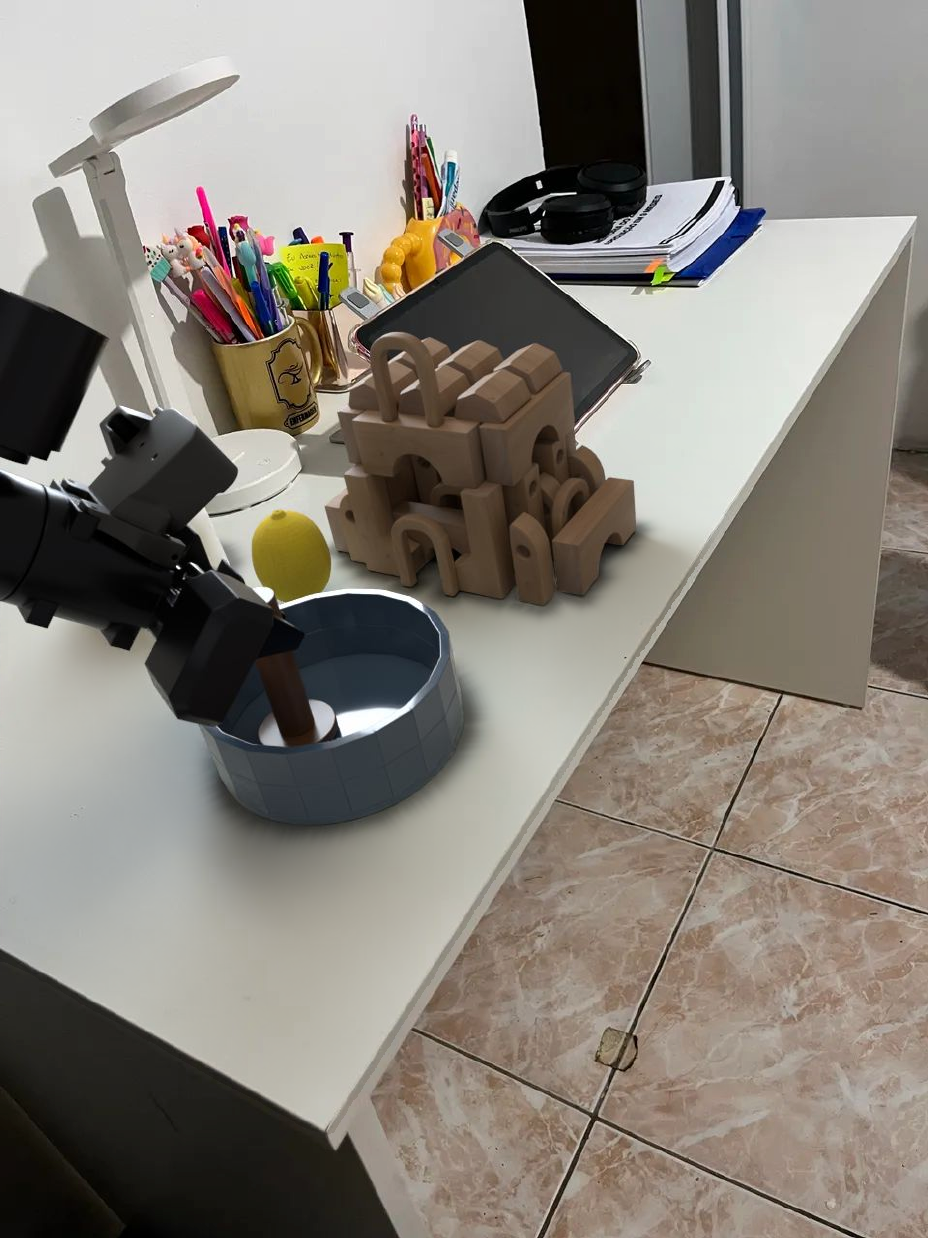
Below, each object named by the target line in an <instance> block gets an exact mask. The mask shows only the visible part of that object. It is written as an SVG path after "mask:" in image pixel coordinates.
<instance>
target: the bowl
mask: <svg viewBox="0 0 928 1238" xmlns="http://www.w3.org/2000/svg"><path fill="white" fill-rule="evenodd" d="M278 605H279V608H280V611H282V612H283V613H284V614H285V616H286V618H285V621H287V622H289V623H290V624H292V625H294V626H295V627H297V628H299V629H300V630H302V631H303V632H304V634H305V636H304V638H303V640H302V642H301V644H300V646H299V648H298V649H297V650H294V651H293V653H294V656H295V659H296V662H297V665H298V669H299V672H300V675H301V678H302V681H303V685H304V688H305V691H306V694H307V697H308V699H314V700H319V701H323V702H325V703H327V704H328V705H330V706H331V707H332V708H333V710H334V711H335V714H336V717H337V721H338V729H337V732H336V735H335V737H334V738H333V740H332V741H329V742H322V743H315V744H308V745H300V746H293V747H281V746H270V745H261V744H260V742H259V739H258V730H259V727H260V724H261V723H262V721H263V720H264V719H265V717H266V716H267V715H268V714H270V713H271V712H272V709H271V706H270V703H269V700H268V697H267V694H266V691H265V689H264V686H263V683H262V680H261V677H260V674H259V671H258V668H257V665H256V663H255V662H254V664H253V666H252V668H251V670H250V671H249V673H248V675H247V677H246V679H245V681H244V683H243V685H242V687H241V689H240V691H239V693H238V695H237V697H236V699H235V701H234V702H233V704H232V706H231V708H230V710H229V712H228V714H227V716H226V718H225V720H224V722H223V723H222V724H219V725H217V726H215V727H209V726H205V725H200V724H197V725H198V727H199V730H200V732H201V735H202V737H203V739H204V741H205V744H206V746H207V749H208V751H209V753H210V755H211V757H212V761H213V763H214V765H215V767H216V770H217V772H218V775H219V778H220V780H221V781H222V782H223V783H224V786H225V787H226V789H227V790H228V792H229V793H230V795H231V796H232V798H234V799H235V801H236V802H237V803H239V804H240V805H242V807H244V808H245V809H247V810H248V811H250V812H252V813H254V814H256V815H257V816H260V817H261V818H265V819H268V820H270V821H274V822H278V823H283V824H289V825H297V826H298V825H300V826H321V825H332V824H338V823H343V822H347V821H353V820H356V819H357V820H358V819H360V818H363V817H366V816H370V815H372V814H375V813H378V812H380V811H383V810H385V809H387V808H389V807H391V806H393V805H395V804H398V803H400V802H401V801H403V800H405V799H406V798H408V797H409V796H411V795H413V794H414V793H415V792H418V790H420V789H421V788H422V787H423V786H424V785H426V784H427V783H428V782H430V781H431V780H432V779H433V778H434V777H435V776H436V775H437V774H438V773H439V772H440V771H441V770H442V769H443V768H444V767H445V765H446V764H447V762H448V761H449V760H450V758H451V757H452V755H453V753H454V751H455V750H456V748H457V746H458V744H459V741H460V738H461V736H462V731H463V728H464V706H463V699H462V698H463V697H462V691H461V685H460V679H459V675H458V669H457V665H456V661H455V655H454V651H453V645H452V640H451V636H450V635H451V634H450V631H449V630H448V628H447V627H446V625H445V624H444V622H443V620H442V619H441V618H440V616H439V613H438V612H436V610H434V609H432V608H430V607H429V606H428V605H426V604H424V603H423V602H421V601H419V600H418V599H416V598H415V597H413V596H409V595H405V594H402V593H398V592H395V591H394V592H393V591H391V590H386V589H377V588H344V589H343V588H342V589H337V590H330V591H326V592H325V591H324V592H323V591H322V592H321V593H317V594H312V595H309V596H306V597H303V598H300V599H296V600H293V601H290V602H287V603H286V602H283V603H282V604H281V603H280V604H278Z"/></svg>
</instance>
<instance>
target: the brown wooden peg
mask: <svg viewBox="0 0 928 1238" xmlns="http://www.w3.org/2000/svg"><path fill="white" fill-rule="evenodd" d="M251 588H252V587H251ZM252 589H253V590H254V591H255V592H256V593H257V594H258V595H259V596H260V597H261V598H262V599H263V600H264V601H265V602H266V603H267V604H268V605H269V606H270V607H271V608H272V609H274V614H275V615H277V616H278V617H280V618H282V615H281V612H280V608H279V605H280V604H279V602H278V599H276V596H275V593H274V591H273V590H272V589H270V588H267V587H263V586H258V587H253V588H252ZM282 619H283V618H282ZM255 663H256V665H257V668H258V671H259V674H260V677H261V680H262V683H263V686H264V689H265V691H266V694H267V697H268V700H269V703H270V706H271V709H272V712H271V713H270V714H268V715H267V716H266V717H265V719H264V720H263V721H262V723H261V724H260V727H259V730H258V739H259V742H260V744H261V745H270V746H281V747H293V746H300V745H308V744H315V743H322V742H329V741H332V740H333V738H334V737H335V735H336V732H337V729H338V721H337V717H336V714H335V711H334V710H333V708H332V707H331V706H330V705H328V704H327V703H325V702H323V701H319V700H314V699H308V697H307V694H306V691H305V688H304V685H303V681H302V678H301V675H300V672H299V669H298V665H297V662H296V659H295V656H294V653H293V651H289V652H285V653H281V654H276V655H272V656H267V657H263V658H259V659H256V660H255Z"/></svg>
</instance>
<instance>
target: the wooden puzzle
mask: <svg viewBox="0 0 928 1238" xmlns="http://www.w3.org/2000/svg"><path fill="white" fill-rule="evenodd" d="M389 350H394V351H396V350H397V351H402V352H400V353H399V354H397V355H395V356H394V357H393V358H391V359H390V360H389V361H388V352H389ZM369 362H370V370H371V373H369V374H368V375H366V376H365V377H363V378H361V380H359V381H358V382H356V383H354V384H353V385H352V386H350V388H349V394H348V396H349V397H348V403H347V404H345V405H344V406H343V407H341V408H340V409H339V410H337V412H336V414H337V418H338V421H339V425H340V426H339V427H340V429H341V434H342V438H343V442H344V447H345V451H346V454H347V458H348V462H349V463H350V464H354V465H353V466H352V467H351V468H350V469H348V470H347V471H345V473H343V478H344V482H345V483H344V484H345V486H346V488H344V489H343V490H342V491H340V493H338V494H336V496H334V497H333V498H332V499H331V500H329V501H328V502H327V503H326V504H324V507H323V508H324V511H325V514H326V518H327V521H328V525H329V529H330V533H331V537H332V540H333V543H334V544H333V545H334V547H335V551H339V552H344V553H349V556H350V560H351V561H354V562H358V563H363V564H365V566H366V569H367V570H368V571H371V572H375V573H376V572H377V573H381V574H386V575H391V576H396V577H400V582H401V586H404V587H408V588H412V587H413V586H414V585H415V584H416V583H417V582H418V580H417V574H418V572H420V570H422V569H423V568H424V567H425V566H426V565H427V564H428V563H429V562H430V561H431V560H432V559H433V558H434V557H435V556H436V562H437V566H438V571H439V577H440V581H441V585H442V592H443V594H444V595H446V596H450V597H454V596H456V595H457V594H458V593H459V592H460V591H461V592H467V593H471V594H472V593H473V594H477V595H480V596H485V597H490V598H495V599H498V600H499V599H500V600H503V599H504V598H505V597H506V595H507V594H509V593H510V591H511V590H512V589H513V588H514V587H515V586H516V591H517V599H518V601H521V602H525V603H529V604H535V605H538V606H539V605H541V606H546V605H547V604H548V602H549V601H550V600H551V599H552V597H553V596H554V595H555V594H556V591H558V592H559V591H560V592H563V593H568V594H573V595H579V596H584V595H585V594H586V593H587V592H588V591H589V590H590V588H591V586H592V585H593V584H594V582H595V581H596V580H597V579H598V578H599V576H600V561H601V555H602V552H603V550H604V546H605V544H612V545H616V546H617V545H618V546H624V545H625V543H627V541H628V540H629V538H630V537H631V536H632V535H633V533H634V532H635V531H636V530H637V515H636V514H637V513H636V498H635V497H636V496H635V495H636V494H635V481H634V480H633V479H626V478H619V477H606V473H605V468H604V465H603V464H602V462H601V460H600V458H599V457H598V455H597V454H596V453H595V452H594V451H593V450H591V449H590V448H589V447H587V446H585V445H583V444H581V445H580V446H579V447H578V448H577V442H576V431H575V429H576V428H575V427H576V418H575V410H574V398H573V397H574V396H573V385H572V377H571V372H567V371H563V370H564V369H563V367H562V364H561V362H560V360H559V358H558V356H557V354H556V351H553V350H551V349H549V348H547V347H545V346H543V345H541V344H539V343H536V342H533V343H532V344H530V345H527V346H525V347H522V348H520V349H518V350H516V351H514V352H513V353H512V354H511V355H510V356H509V357H507V358H506V359H504V358H503V356H502V354H501V352H500V350H499V348H498V347H495V346H493V345H491V344H489V343H487V342H485V341H483V340H481V339H478V340H476V341H473V342H471V343H469V344H467V345H464V346H462V347H461V348H459V349H458V350H457V351H455V352H454V353H452V352H451V350H450V348H449V346H448V345H447V344H445V343H443V342H441V341H439V340H437V339H434V338H433V337H429V336H428V337H426V338H424V339H420V338H418V337H416V336H415V335H413V334H410V333H408V332H403V331H392V332H388V333H384V334H383V335H381V336H380V337H378V338H377V339H376V340H375V341H374V342H373V343H372V345H371V347H370V350H369ZM452 549H453V550H455V551H457V552H458V553H459V555H460V556H459V557H458V558H457V559H456V560H455V559H454V555H453V550H452ZM553 564H554V565H553ZM553 567H554V568H553ZM554 574H555V575H554ZM555 582H556V584H555Z"/></svg>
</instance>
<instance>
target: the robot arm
mask: <svg viewBox="0 0 928 1238" xmlns="http://www.w3.org/2000/svg"><path fill="white" fill-rule="evenodd" d="M110 340H111V338H109V337H108V336H106V335H105V334H103V333H102V332H100V331H98V330H96V329H94V328H92V327H91V326H88V325H87V324H86V323H83V322H81V321H79V320H78V319H75V318H73V317H72V316H69V315H67V314H65V313H64V312H61V311H59V310H58V309H55V308H53V307H51V306H49V305H46V304H44V303H41V302H38V301H36V300H33V299H31V298H28V297H25V296H23V295H20V294H18V293H15V292H12V291H7V290H5V289H4V288H1V287H0V458H1V459H4V460H7V461H9V462H10V461H11V462H13V463H16V464H20V465H25V466H28V465H29V464H30V461H31V458H35V459H38V460H41V461H45V462H48V460H49V458H50V455H51V453H52V452H56V453H60V452H61V451H62V449H63V447H64V445H65V442H66V440H67V438H68V436H69V433H70V432H71V429H72V427H73V425H74V422H75V420H76V417H77V415H78V413H79V412H80V411H79V410H80V408H81V406H82V404H83V401H84V399H85V397H86V395H87V392H88V390H89V388H90V386H91V383H92V381H93V379H94V377H95V374H96V372H97V369H98V367H99V365H100V363H101V360H102V358H103V356H104V354H105V351H106V349H107V347H108V345H109V342H110ZM152 413H153V414H154V415H155V416H154V417H152V416H151V415H150V414H147V413H144V412H141V411H138V410H135V409H132V408H129V407H126V406H123V405H117V406H116V407H115V408H114V409H112V411H111V412H110V413H108V414H107V415H106V416H105V417H104V419H103V420H101V421H100V423H99V425H98V426H99V428H100V431H101V435H102V437H103V440H104V443H105V445H106V449H107V452H108V455H109V454H110V455H111V456H112V459H111V460H110V459H109V458H108V456H105V457H104V458H103V459H101V461H100V463H101V464H102V466H103V467H104V469H103V470H102V471H101V472H100V473H99V475H98V476H97V477H96V478H95V479H94V480H93V481H92V482H91V483H90V484H89V485H87V484H84V483H82V482H78V481H76V480H73V479H70V478H69V477H63V478H62V480H61V481H59V480H57V479H54V478H52V481H51V482H50V484H49V486H48V485H45V484H42V483H39V482H38V481H35V480H31V479H29V478H27V477H23V476H21V475H18V474H15V473H13V472H10V471H7V470H6V469H5V470H4V469H2V468H0V602H2V603H5V604H9V605H12V606H16V608H17V609H18V611H19V613H20V614H21V617H22V618H23V620H24V622H25V623H26V624H29V625H33V626H36V627H40V628H44V629H47V630H48V628H49V626H50V624H51V623H52V621H53V618H59V619H61V620H65V621H68V622H72V623H76V624H80V625H83V626H86V627H90V628H94V629H97V630H99V631H100V632H101V634H102V636H103V637H104V639H105V641H106V642H107V643H108V644H109V646H110V647H114V648H117V649H120V650H124V651H128V652H130V651H131V649H132V648H133V645H134V643H135V641H136V639H137V637H138V635H139V633H140V631H141V629H144V630H146V631H147V632H149V634H151V636H152V637H153V638H154V639H155V641H154V644H153V645H152V647H151V650H150V652H149V653H148V655H147V657H146V660H145V661H144V663H143V665H144V666H145V668H146V671H147V673H148V676H149V678H150V680H151V683H152V685H153V686H154V688H155V690H156V691H157V692H158V694H160V697H161V698H162V699H163V701H164V702H165V703H166V705H167V707H168V708H169V709H170V712H172V714H173V715H174V716H175V718H176V719H177V720H179V721H184V722H188V723H191V724H196V725H198V724H200V725H205V726H209V727H215V726H217V725H219V724H222V723H223V722H224V720H225V718H226V716H227V714H228V712H229V710H230V708H231V706H232V704H233V702H234V701H235V699H236V697H237V695H238V693H239V691H240V689H241V687H242V685H243V683H244V681H245V679H246V677H247V675H248V673H249V671H250V670H251V668H252V666H253V664H254V662H255V660H256V659H259V658H263V657H267V656H272V655H276V654H281V653H285V652H289V651H294V650H297V649H298V648H299V646H300V644H301V642H302V640H303V638H304V636H305V634H304V632H303V631H302V630H300V629H299V628H297V627H295V626H294V625H292V624H290V623H289V622H287V621H285V618H286V616H285V614H284V613H283V612H282V611H280V612H281V615H282V618H283V619H282V618H280V617H278V616H277V615H275V614H274V609H272V608H271V607H270V606H269V605H268V604H267V603H266V602H265V601H264V600H263V599H262V598H261V597H260V596H259V595H258V594H257V593H256V592H255V591H254V590H253V589H252V587H250V586H249V585H247V584H246V582H245V579H244V578H243V576H242V575H241V574H240V573H239V572H237V570H236V569H235V568H234V567H232V565H231V564H230V565H229V564H228V563H227V562H226V561H225V560H224V559H222V560H221V562H220V564H219V566H218V568H215V567H214V566H212V565H211V564H210V562H209V559H208V556H207V554H206V551H205V549H204V546H203V543H202V541H201V538H200V536H199V535H198V534H197V533H196V532H195V531H194V530H193V529H192V528H191V527H190V526H189V525H188V523H189V522H190V521H191V520H192V519H193V518H194V517H195V516H196V515H197V514H198V513H199V512H200V511H201V510H202V509H203V508H205V507H206V506H207V505H208V504H209V503H210V502H211V501H212V500H213V499H214V498H215V497H216V496H217V495H218V494H224V493H225V492H227V491H228V489H229V488H231V486H232V485H233V484H234V482H236V479H237V478H238V474H239V468H238V467H237V465H235V464H234V462H233V461H232V460H231V459H230V458H229V457H228V456H227V455H226V454H225V453H224V452H223V451H222V450H221V449H220V448H219V447H218V446H217V445H216V443H215V442H213V441H212V439H210V437H209V436H208V435H206V433H205V432H204V431H203V430H202V429H201V428H200V427H199V426H198V425H197V424H196V423H195V422H194V421H192V420H191V419H190V418H188V417H187V416H185V415H184V414H183V413H181V412H180V411H179V410H177V408H174V407H169V408H166V409H163V408H161V407H160V406H156V407H155V408H154V409H153V410H152ZM168 535H169V536H168Z"/></svg>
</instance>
